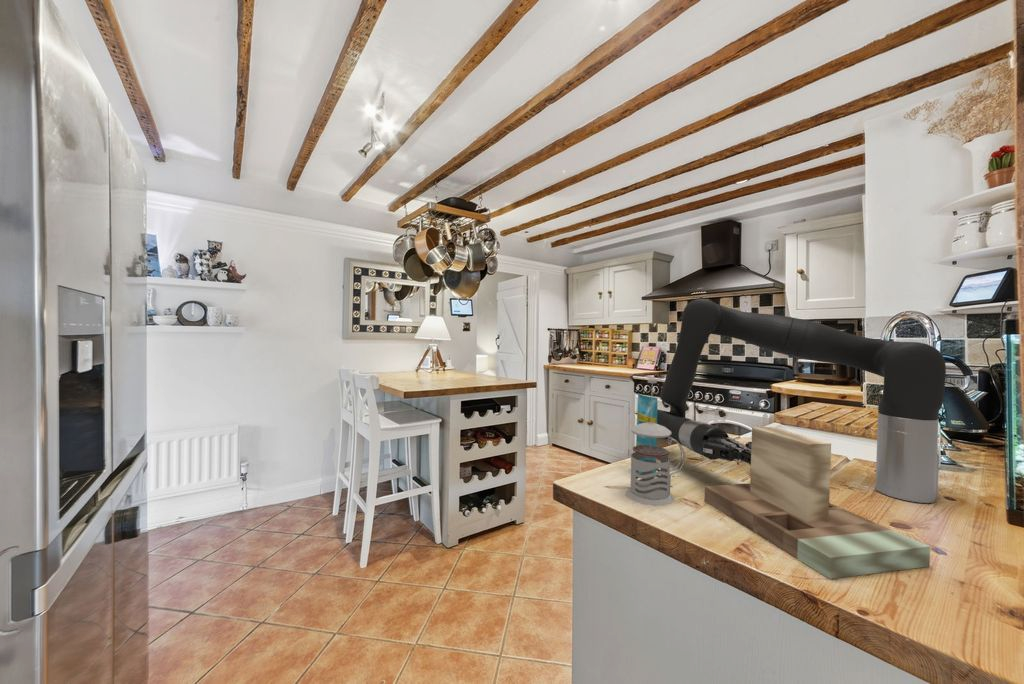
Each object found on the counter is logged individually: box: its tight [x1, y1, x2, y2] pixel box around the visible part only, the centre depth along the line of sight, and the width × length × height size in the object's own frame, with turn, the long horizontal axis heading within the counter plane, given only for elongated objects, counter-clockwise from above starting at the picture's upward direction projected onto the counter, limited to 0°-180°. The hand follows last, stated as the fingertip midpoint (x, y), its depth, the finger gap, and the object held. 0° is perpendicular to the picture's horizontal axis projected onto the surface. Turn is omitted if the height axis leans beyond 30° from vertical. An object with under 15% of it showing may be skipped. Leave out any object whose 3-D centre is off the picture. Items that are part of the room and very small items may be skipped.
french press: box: [625, 376, 686, 507], centre depth 82 cm, size 10×12×25 cm
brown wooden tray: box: [704, 482, 931, 580], centre depth 69 cm, size 18×26×3 cm
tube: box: [635, 393, 658, 478], centre depth 95 cm, size 7×5×19 cm, turn 23°
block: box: [749, 426, 832, 522], centre depth 72 cm, size 4×12×13 cm, turn 11°
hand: (761, 461), depth 78 cm, fingers closed
